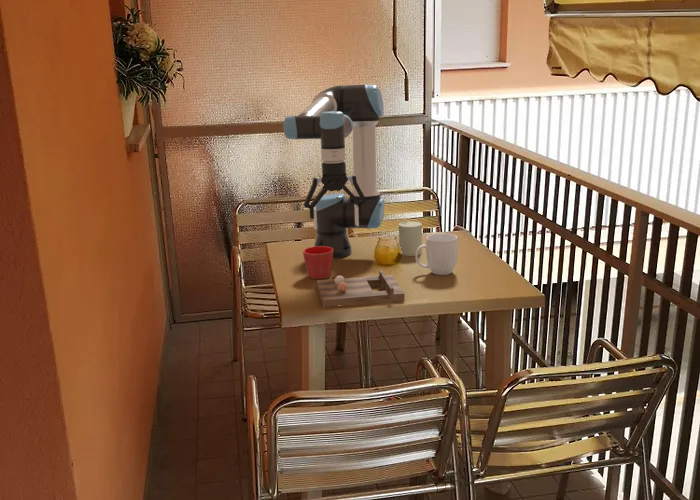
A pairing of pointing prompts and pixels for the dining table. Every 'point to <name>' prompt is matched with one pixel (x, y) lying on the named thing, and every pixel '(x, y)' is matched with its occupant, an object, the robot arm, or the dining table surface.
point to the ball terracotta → (342, 286)
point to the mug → (440, 253)
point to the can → (410, 237)
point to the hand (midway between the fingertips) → (336, 226)
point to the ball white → (339, 279)
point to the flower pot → (318, 261)
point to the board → (360, 291)
